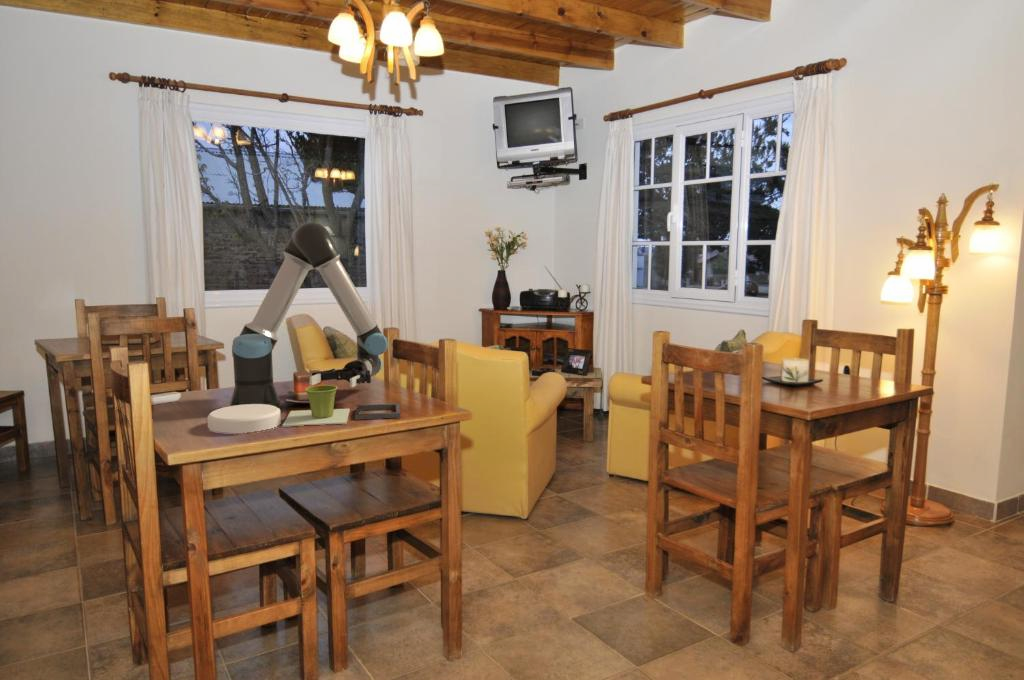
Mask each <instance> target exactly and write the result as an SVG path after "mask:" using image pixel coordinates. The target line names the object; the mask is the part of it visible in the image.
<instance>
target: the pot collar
mask: <svg viewBox="0 0 1024 680" xmlns="http://www.w3.org/2000/svg"><path fill="white" fill-rule="evenodd" d="M375 409H387V410H395V412H378V413H377V412H375V413H373V412H372V413H361V412H362V411H361V410H363V411H376V410H375ZM378 418H390V419H401V405H400V403H382V404H380V403H379V404H357V405H356V408H355V414H354V420H355V421H359V420H358V419H367V420H379V419H378Z"/></svg>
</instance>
